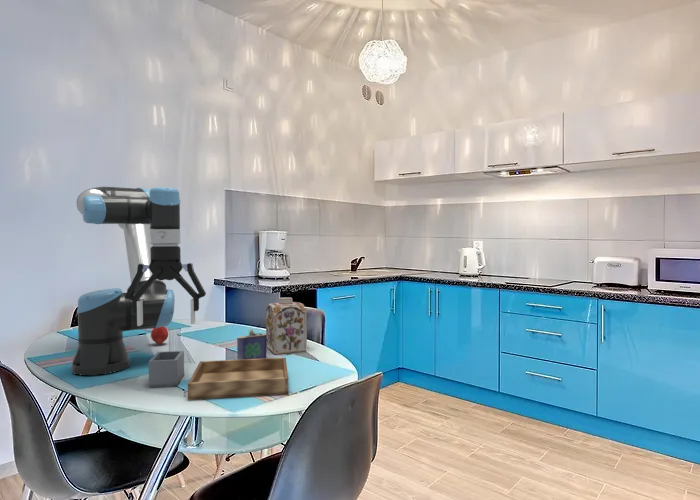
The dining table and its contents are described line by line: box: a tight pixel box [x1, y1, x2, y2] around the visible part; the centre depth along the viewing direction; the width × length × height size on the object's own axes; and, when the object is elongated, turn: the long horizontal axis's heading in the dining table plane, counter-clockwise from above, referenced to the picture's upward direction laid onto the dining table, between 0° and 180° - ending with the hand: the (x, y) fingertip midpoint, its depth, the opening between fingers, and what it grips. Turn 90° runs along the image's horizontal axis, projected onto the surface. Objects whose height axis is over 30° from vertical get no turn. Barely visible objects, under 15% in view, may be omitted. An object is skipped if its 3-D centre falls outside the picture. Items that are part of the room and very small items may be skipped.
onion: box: [150, 326, 169, 346], centre depth 169 cm, size 6×6×8 cm
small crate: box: [148, 350, 185, 389], centre depth 126 cm, size 7×10×7 cm
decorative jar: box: [265, 296, 308, 355], centre depth 161 cm, size 12×12×18 cm
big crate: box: [187, 357, 289, 401], centre depth 124 cm, size 24×20×4 cm
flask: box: [236, 328, 268, 360], centre depth 143 cm, size 9×3×11 cm, turn 121°
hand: (166, 324), depth 126 cm, fingers open, 13 cm apart
